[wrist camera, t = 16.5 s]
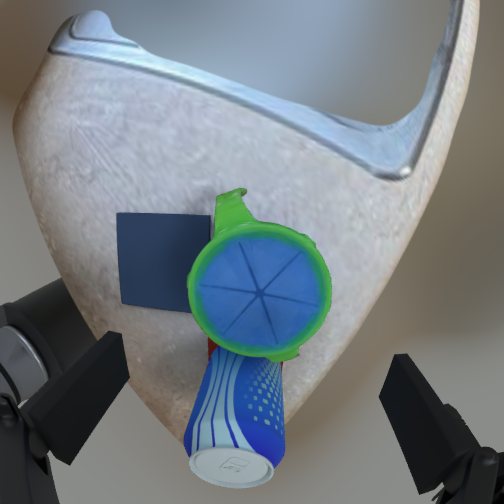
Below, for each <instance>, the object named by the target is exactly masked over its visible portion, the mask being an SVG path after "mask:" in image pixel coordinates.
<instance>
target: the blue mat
mask: <svg viewBox="0 0 504 504" xmlns="http://www.w3.org/2000/svg"><path fill="white" fill-rule="evenodd" d="M209 242H210V215H188V214H159V213H117V249H118V266H119V279H120V290H121V300H122V304H128V305H135V306H141V307H148V308H155V309H163V310H171V311H179V312H187V313H192V311H191V308H190V304H189V298H188V288H187V277H188V274H189V273H190V272H191V269H192V266H193V264H194V262H195V260H196V258H197V256H198V255H199V254H200V252H201V251H202V250H203V248H204V247H205V246H206V245H207V244H208V243H209Z"/></svg>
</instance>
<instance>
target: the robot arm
mask: <svg viewBox="0 0 504 504" xmlns="http://www.w3.org/2000/svg"><path fill="white" fill-rule="evenodd" d="M129 378H130V376H129V371H128V366H127V361H126V356H125V351H124V345H123V339H122V334H121V333H116V332H112V331H108V332H107V333H106V334H105V335H104V336H103V337H102V338H101V339H100V340H99V341H98V342H96V343H95V344H94V345H93V346H92V347H91V348H90V349H89V350H88V351H87V352H86V353H85V354H84V355H83V356H82V357H81V358H80V359H79V360H78V361H77V362H76V363H75V364H74V365H73V366H72V367H71V368H70V369H69V370H68V371H67V372H66V373H65V374H64V375H61V374H57V375H55V376H53V377H51V376H50V372H49V369H48V366H47V364H46V362H45V360H44V358H43V356H42V354H41V353H40V351H39V349H38V348H37V347H36V345H35V344H34V342H33V341H32V340H31V339H30V338H29V336H28V335H27V334H26V333H25V332H24V331H22V330H21V329H20V328H19V327H17V326H15V325H13V324H7V325H5V326H4V327H2V328H1V329H0V504H60V503H59V500H58V496H57V493H56V489H55V485H54V480H53V476H52V472H51V466H50V461H49V457H48V455H47V453H48V452H49V450H50V451H51V452H52V454H53V455H54V456H55V458H56V459H58V460H60V461H62V462H64V463H66V464H68V465H71V463H72V461H73V460H74V459H75V457H76V456H77V454H78V453H79V451H80V450H81V448H82V446H83V445H84V443H85V442H86V440H87V439H88V437H89V436H90V434H91V433H92V431H93V430H94V428H95V427H96V425H97V424H98V423H99V421H100V420H101V418H102V417H103V415H104V414H105V412H106V411H107V409H108V408H109V406H110V405H111V404H112V402H113V401H114V399H115V398H116V396H117V395H118V393H119V392H120V391H121V389H122V388H123V386H124V384H125V383H126V382H127V381H128V379H129ZM27 399H28V401H27V402H26V403H24V405H23V406H22V407H21V408H20V409H19V408H18V407H17V406H18V405H19V404H20V403H21V402H22V401H24V400H27ZM379 399H380V401H381V403H382V405H383V407H384V410H385V412H386V414H387V416H388V419H389V421H390V423H391V425H392V428H393V430H394V432H395V435H396V437H397V440H398V442H399V444H400V447H401V449H402V452H403V454H404V457H405V459H406V462H407V464H408V467H409V469H410V472H411V474H412V477H413V479H414V482H415V485H416V487H417V490H418V493H419V495H420V494H423V493H426V492H429V491H432V490H434V489H436V488H437V487H438V486H439V485H440V483H441V482H443V484H444V487H443V488H442V490H440V491H439V492H438V493H437V494H436V495H435V496H434V497H433V499H432V501H434V500H435V499H436V498H437V497H438V496H439V497H438V499H437V502H436V504H504V452H501V453H497V452H496V451H495V450H494V449H492V448H490V447H481V446H480V445H479V443H478V442H477V440H476V438H475V437H474V435H473V434H472V432H471V431H470V429H469V428H468V426H467V425H465V424H466V423H465V422H464V420H463V419H461V416H460V414H459V413H458V411H457V410H456V409H455V408H453V407H452V406H451V405H449V404H444V405H443V403H442V402H441V400H440V399H439V397H438V396H437V394H436V393H435V392H434V390H433V389H432V387H431V386H430V384H429V383H428V382H427V380H426V379H425V377H424V376H423V374H422V373H421V372H420V371H419V369H418V368H417V366H416V365H415V363H414V362H413V361H412V359H411V358H410V357H409V355H408V354H395V355H394V357H393V360H392V363H391V366H390V368H389V371H388V374H387V377H386V380H385V382H384V385H383V388H382V390H381V392H380V395H379Z"/></svg>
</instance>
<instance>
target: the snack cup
mask: <svg viewBox="0 0 504 504" xmlns="http://www.w3.org/2000/svg"><path fill="white" fill-rule="evenodd" d="M246 193H247V190H246V189H245V188H238V189H235V190H232V191H230V192H227V193H225V194H221V195H219V196H217V197H216V206H215V219H214V236H213V238H212V239H211V241H210V242H209V243H208V244H207V245H206V246H205V247H204V248H203V250H202V251H201V252H200V254H199V255H198V256H197V258H196V260H195V262H194V264H193V266H192V269H191V272H190V273H189V274H188V277H187V288H188V298H189V304H190V308H191V311H192V314H193V316H194V318H195V320H196V322H197V323H198V325H199V326H200V328H201V329H202V330H203V331H204V333H205V334H206V335H207V336H208V337H209V338H210V339H211V340H213V341H214V342H215V343H216V344H218V345H220V346H221V347H223V348H225V349H227V350H229V351H231V352H234V353H237V354H240V355H244V356H250V357H266V358H267V359H268V360H270V361H271V362H272V363H273V362H275V363H276V362H282V361H286V360H290V359H293V358H295V357H297V356H298V350H299V346H300V345H302V344H304V343H305V342H306V341H308V340H309V339H310V338H311V337H312V336H313V335H314V334H315V333H316V332H317V330H318V329H319V328H320V327H321V325H322V324H323V322H324V320H325V318H326V315H327V313H328V312H329V310H330V307H331V296H332V284H331V277H330V273H329V270H328V268H327V265H326V263H325V261H324V259H323V257H322V256H321V254H320V253H319V251H318V250H317V249H316V247H315V246H316V244H315V242H313V241H312V240H311V239H310V238H309V237H308V236H307V235H305V234H301V233H298V232H297V231H295V230H293V229H290V228H288V227H285V226H282V225H280V224H275V223H270V222H260V221H257V220H256V219H255V218H254V217H253V216H252V215H251V213H250V212H249V210H248V209H247V207H246V206H245V204H244V202H243V200H242V198H241V197H242V196H244V195H245V194H246Z"/></svg>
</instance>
